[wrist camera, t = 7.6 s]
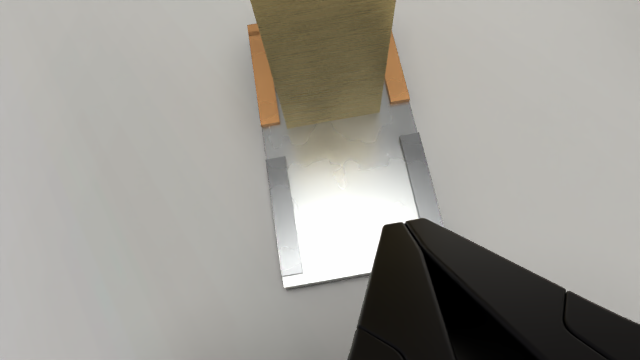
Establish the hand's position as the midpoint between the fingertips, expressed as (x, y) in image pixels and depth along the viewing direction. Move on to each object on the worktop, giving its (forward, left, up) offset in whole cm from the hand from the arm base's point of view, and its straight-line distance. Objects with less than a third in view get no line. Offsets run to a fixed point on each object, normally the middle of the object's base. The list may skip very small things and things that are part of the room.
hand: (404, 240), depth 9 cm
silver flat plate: (+9, 0, -14) cm, 16 cm away
